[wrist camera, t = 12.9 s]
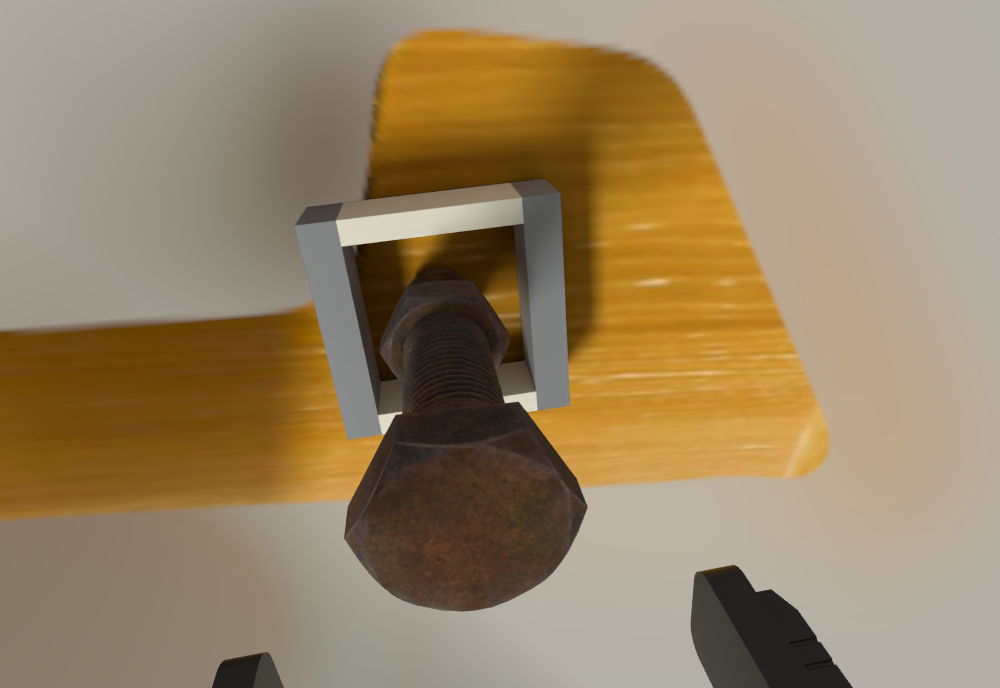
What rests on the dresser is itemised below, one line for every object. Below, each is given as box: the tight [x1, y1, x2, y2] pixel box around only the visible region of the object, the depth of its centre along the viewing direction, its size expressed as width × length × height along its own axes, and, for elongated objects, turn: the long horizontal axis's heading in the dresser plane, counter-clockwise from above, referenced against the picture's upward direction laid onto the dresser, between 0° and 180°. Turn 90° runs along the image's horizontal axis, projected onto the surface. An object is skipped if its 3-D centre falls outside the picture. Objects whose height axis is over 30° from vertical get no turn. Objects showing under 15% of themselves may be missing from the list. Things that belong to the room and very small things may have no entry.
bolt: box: [344, 268, 588, 612], centre depth 20 cm, size 6×5×15 cm
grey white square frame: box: [295, 179, 570, 439], centre depth 26 cm, size 10×10×3 cm
